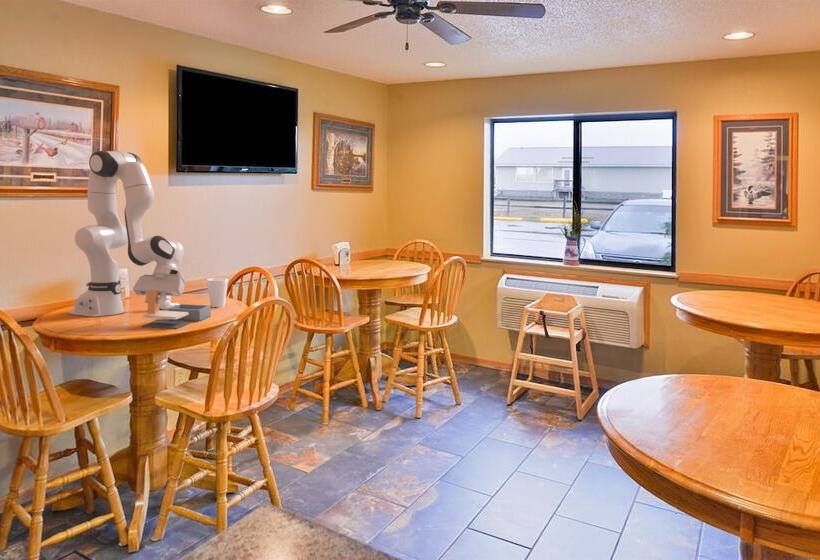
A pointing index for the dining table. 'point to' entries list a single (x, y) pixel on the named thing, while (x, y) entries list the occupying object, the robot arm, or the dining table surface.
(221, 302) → the foam cup
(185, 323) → the mat
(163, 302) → the white creature statuette
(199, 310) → the tub
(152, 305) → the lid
